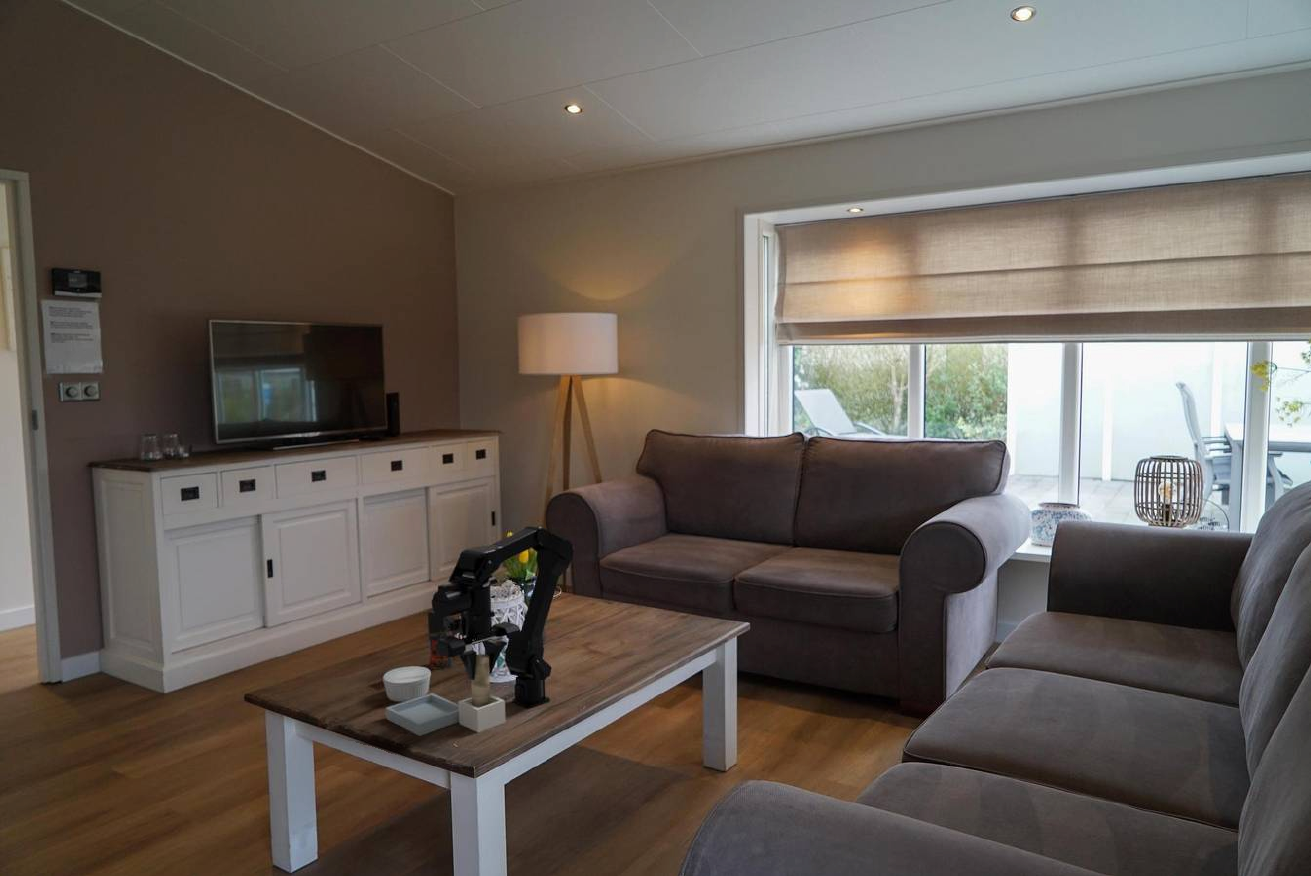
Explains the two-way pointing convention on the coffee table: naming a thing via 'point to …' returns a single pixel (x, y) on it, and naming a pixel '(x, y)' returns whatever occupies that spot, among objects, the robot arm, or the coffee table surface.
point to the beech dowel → (481, 682)
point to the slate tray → (424, 714)
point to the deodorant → (434, 634)
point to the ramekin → (407, 683)
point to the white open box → (482, 714)
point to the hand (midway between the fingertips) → (480, 677)
